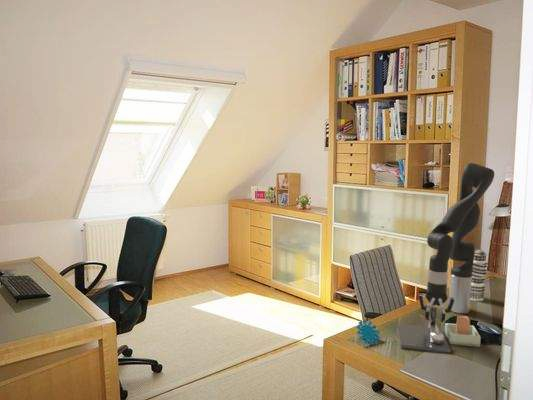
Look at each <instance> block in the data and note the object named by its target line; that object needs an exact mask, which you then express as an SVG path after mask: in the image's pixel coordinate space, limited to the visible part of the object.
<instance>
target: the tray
mask: <svg viewBox="0 0 533 400" xmlns="http://www.w3.org/2000/svg"><path fill="white" fill-rule="evenodd" d="M456 324H457V323H449V322H447V323H446V322H445V324H444V335H445V337H446V339H447V342H448V344H450V345H456V346H457V345H459V346H466V347H467V346H470V347H481V335H480V334H479V332H478V331H477V329H476V328H475V326H474V325H471V324H470V328H469V335H463V334H456Z"/></svg>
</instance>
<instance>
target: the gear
mask: <svg viewBox="0 0 533 400" xmlns="http://www.w3.org/2000/svg"><path fill="white" fill-rule="evenodd" d="M366 323H367V324H366ZM372 323H373V322H372V321H370V320H369V321H368V322H367V320H366V319H363V320H361V321H358V325H357V326H355V327H356V329H358V330H356V334H357V335H360V336H359V339H360V340H361V341H362V340H363V339H365V340H364V341H363V342H364V344H366V345H367V344H368V343H369V345H371V346H373V345H374V344H377V343H378V340H380V335H379V334H380V333H381V331H382V330H381V329H377V330H375V329H376V328H377V325H375V324H373V325H372ZM370 325H372V326H370ZM369 340H370V342H369Z"/></svg>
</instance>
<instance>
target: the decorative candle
mask: <svg viewBox="0 0 533 400" xmlns="http://www.w3.org/2000/svg"><path fill="white" fill-rule="evenodd" d="M487 265H488V262H487V253H486V252H485V251H484V250H482V249H475V255H474V261H473V271H472V282H471V295H470V301H476V302H480V301H481V302H482V301H484V300H485V292H484V291H485V278H486V275H487V269H486V268H488V266H487Z"/></svg>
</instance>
